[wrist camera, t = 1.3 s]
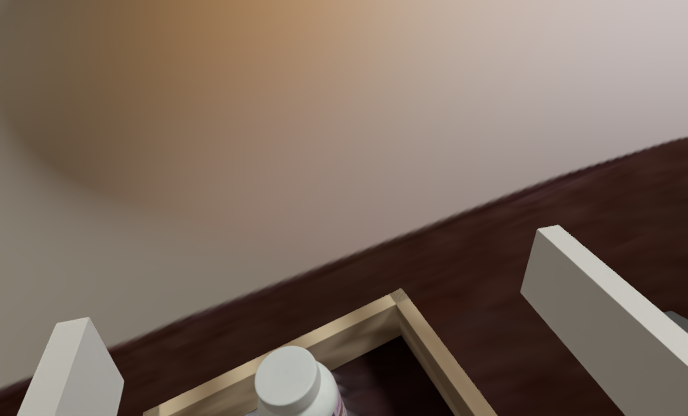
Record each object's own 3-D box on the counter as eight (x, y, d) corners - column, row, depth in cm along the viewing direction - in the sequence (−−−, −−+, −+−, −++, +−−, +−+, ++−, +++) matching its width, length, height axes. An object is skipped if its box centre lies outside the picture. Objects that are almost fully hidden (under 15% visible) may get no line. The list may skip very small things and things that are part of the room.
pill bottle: (368, 449, 30) (345, 381, 24) (305, 498, 28) (263, 439, 23) (331, 391, 34) (303, 321, 28) (273, 432, 32) (230, 366, 26)
